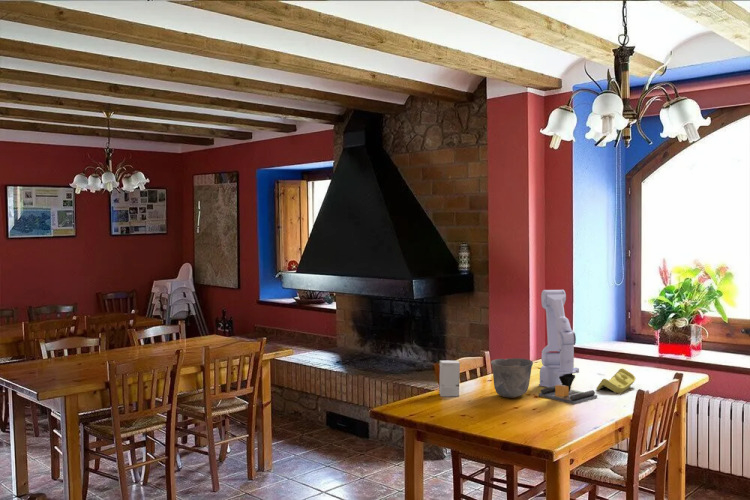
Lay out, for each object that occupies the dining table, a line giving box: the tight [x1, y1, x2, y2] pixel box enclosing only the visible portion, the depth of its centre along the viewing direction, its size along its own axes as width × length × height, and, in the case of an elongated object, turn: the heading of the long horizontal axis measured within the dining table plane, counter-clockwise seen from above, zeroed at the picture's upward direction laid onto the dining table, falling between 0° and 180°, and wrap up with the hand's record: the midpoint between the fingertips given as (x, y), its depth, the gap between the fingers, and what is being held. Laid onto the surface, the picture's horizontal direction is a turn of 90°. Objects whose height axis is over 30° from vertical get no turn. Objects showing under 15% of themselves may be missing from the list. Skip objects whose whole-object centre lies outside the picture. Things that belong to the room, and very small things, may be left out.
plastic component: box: [596, 367, 637, 394], centre depth 311 cm, size 20×7×10 cm
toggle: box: [555, 384, 569, 397], centre depth 293 cm, size 4×3×4 cm
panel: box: [538, 389, 598, 405], centre depth 296 cm, size 18×16×1 cm
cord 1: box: [540, 384, 562, 394], centre depth 301 cm, size 2×15×2 cm, turn 128°
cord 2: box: [570, 389, 596, 400], centre depth 290 cm, size 2×15×2 cm, turn 128°
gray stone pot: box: [490, 357, 534, 399], centre depth 298 cm, size 18×18×15 cm
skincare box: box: [438, 359, 461, 398], centre depth 301 cm, size 8×6×15 cm
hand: (566, 391), depth 295 cm, fingers closed
